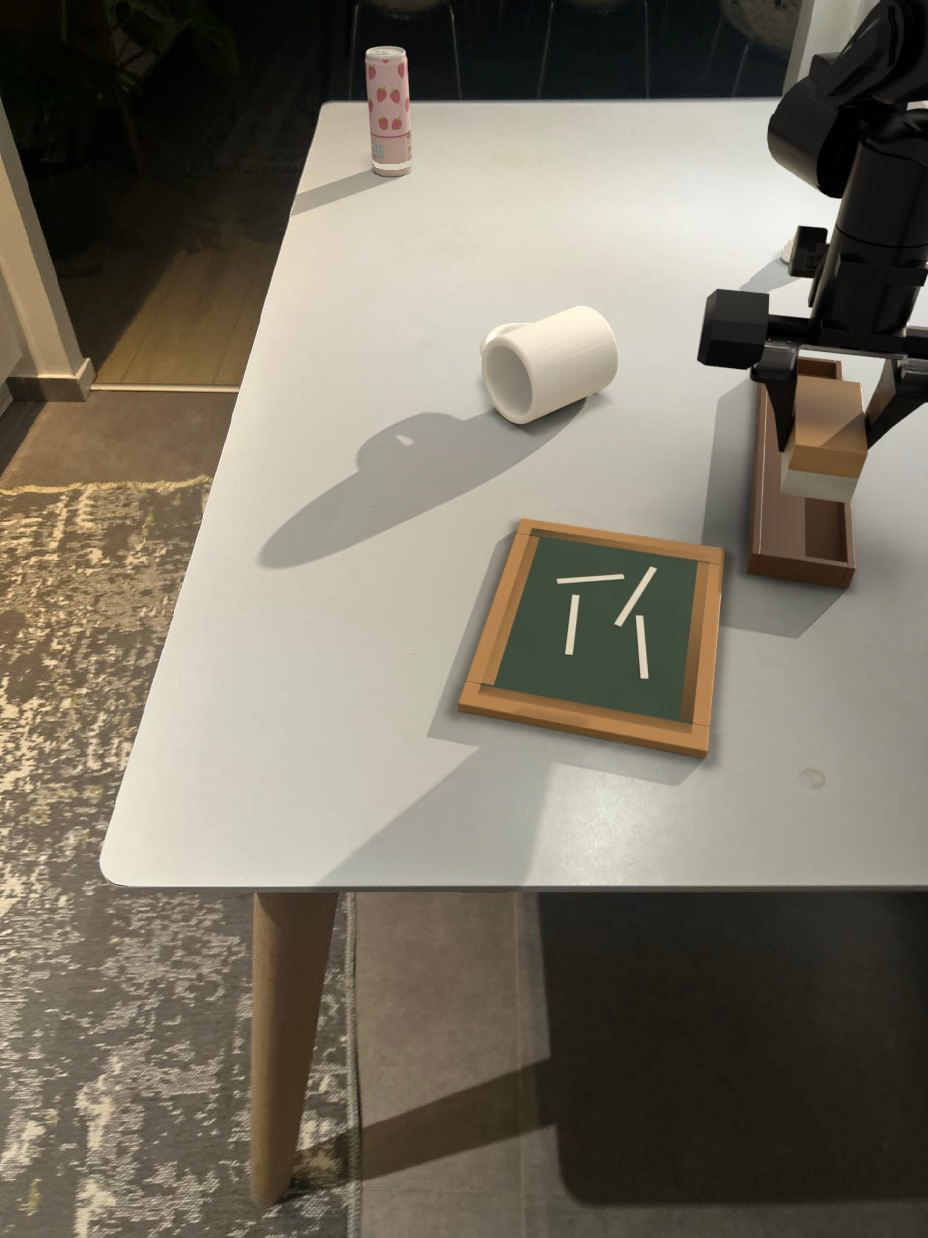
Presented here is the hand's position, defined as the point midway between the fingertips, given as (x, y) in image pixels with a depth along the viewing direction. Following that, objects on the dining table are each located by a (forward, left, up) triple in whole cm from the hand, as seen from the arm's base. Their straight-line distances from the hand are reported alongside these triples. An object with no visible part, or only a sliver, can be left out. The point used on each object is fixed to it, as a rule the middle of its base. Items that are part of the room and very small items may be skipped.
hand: (817, 453), depth 64 cm
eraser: (0, 0, -1) cm, 1 cm away
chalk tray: (-1, -13, -10) cm, 16 cm away
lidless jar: (-1, -56, -10) cm, 57 cm away
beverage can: (+55, -74, -10) cm, 93 cm away
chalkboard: (+13, +11, -10) cm, 19 cm away
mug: (+24, -19, -10) cm, 32 cm away
